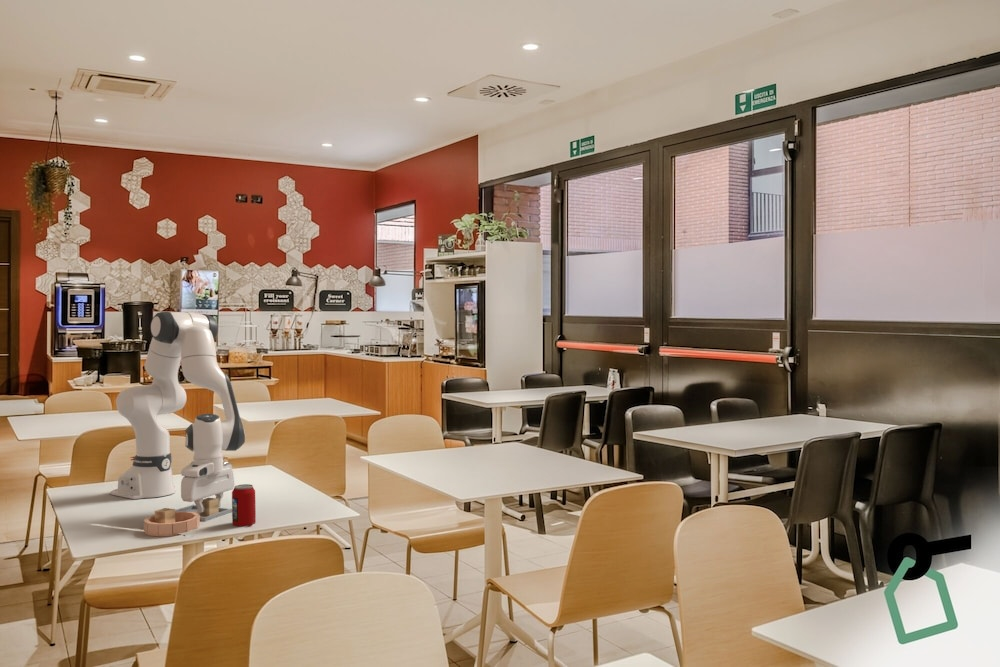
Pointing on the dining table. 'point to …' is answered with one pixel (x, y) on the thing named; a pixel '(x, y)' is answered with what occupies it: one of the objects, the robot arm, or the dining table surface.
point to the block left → (165, 515)
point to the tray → (221, 512)
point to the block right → (210, 507)
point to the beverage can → (243, 505)
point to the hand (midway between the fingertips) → (209, 509)
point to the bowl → (172, 524)
